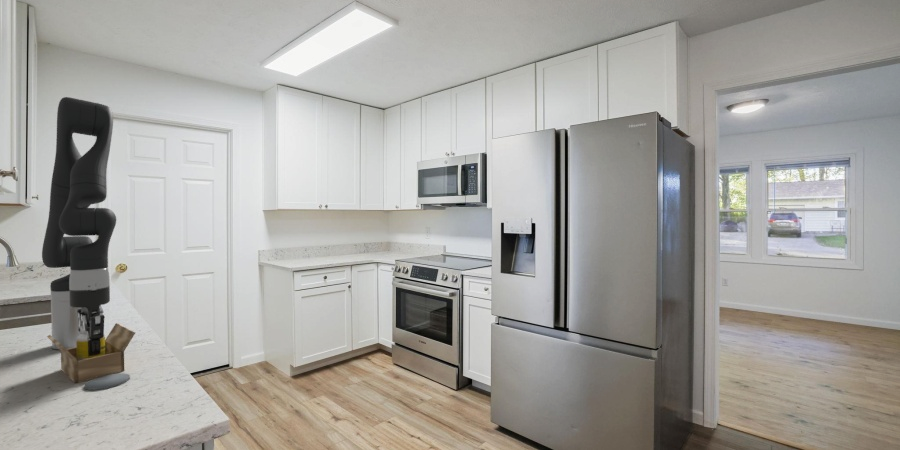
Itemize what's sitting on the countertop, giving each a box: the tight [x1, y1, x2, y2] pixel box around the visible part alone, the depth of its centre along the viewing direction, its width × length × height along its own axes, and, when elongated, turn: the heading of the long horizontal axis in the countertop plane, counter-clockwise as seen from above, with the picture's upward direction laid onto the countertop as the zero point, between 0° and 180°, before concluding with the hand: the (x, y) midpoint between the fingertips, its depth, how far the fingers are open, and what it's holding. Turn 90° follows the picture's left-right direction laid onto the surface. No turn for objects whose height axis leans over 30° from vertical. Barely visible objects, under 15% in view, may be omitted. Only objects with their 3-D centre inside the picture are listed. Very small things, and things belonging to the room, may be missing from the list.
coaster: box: [84, 372, 131, 391], centre depth 92 cm, size 8×8×1 cm
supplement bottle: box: [77, 326, 106, 361], centre depth 100 cm, size 5×5×10 cm
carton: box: [46, 322, 136, 384], centre depth 100 cm, size 14×14×10 cm
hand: (91, 351), depth 100 cm, fingers closed on supplement bottle, 5 cm apart
